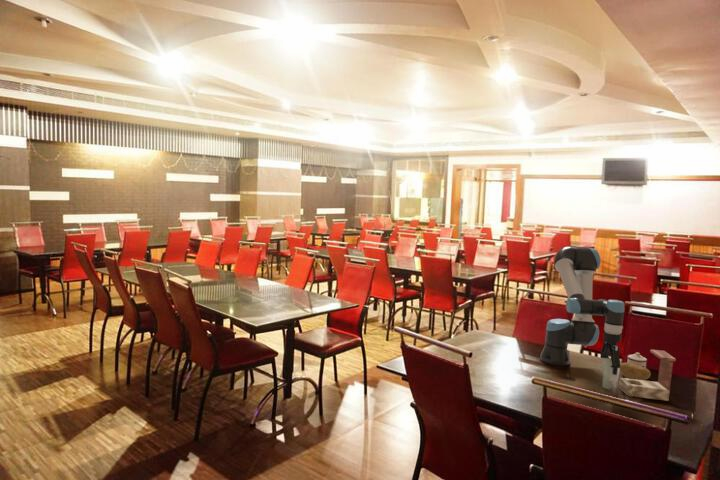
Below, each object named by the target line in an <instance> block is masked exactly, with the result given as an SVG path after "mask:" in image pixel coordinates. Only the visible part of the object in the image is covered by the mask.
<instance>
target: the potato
mask: <svg viewBox="0 0 720 480" xmlns="http://www.w3.org/2000/svg"><path fill="white" fill-rule="evenodd" d="M619 370H620V373H621V375H623V376H624V378H628V379H637V380H645V381H647V380H648V379H650V377H651V375H652V374H651V373H652V372H651V371H650V370H649V369H648V368H647V367H646V368H644V367H640V366H638V365H634V364H630V363H627V362H622V363H620V368H619Z"/></svg>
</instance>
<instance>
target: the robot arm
mask: <svg viewBox="0 0 720 480" xmlns="http://www.w3.org/2000/svg"><path fill="white" fill-rule="evenodd" d="M553 265H554V268H555V270H556V271H558V274H559V277H560V280H561V281H562V285H563V288H564V290H565V293H566V295H567V299H566V301H565V308H566V311H567V312H568V313H569V314H574V317H573V318H571V321H570V320H569V319H563V318H553V319H549V320H548V321H547V323H546V327H545V339H544V341H545V342H544V346H543V349H542V351H541V353H540V357H539V359H540V361H542V362H544V363H546V364H549V365H554V366H562V367H563V366H568V365H570V355H569V351H568V346H569V345H576V346H577V345H578V346H580V345H581V346H594V345H595V344H597V342H598V339H599V335H600V329H599V326H598V324H596V323H595V322H596V321H595V320H594V319H593V316H602V317H603V316H604V317H605V320H604V327H603V331H604V332H603V344H602V348H601V351H600V357H601V363H600V371H601V372H604V367H605V358H611V362H612V365H611V373H610V381H612V382H617V380H618V379H617V378H618V371H619V370H618V369H620V365H621V360H620V359H621V356H620V346H619V345H618V343H621V342H622V332H623V329H624V326H623V322H624V316H625V302H624V301H622V300H618V299H608V300H607V299H602V298H600V299H593V284H594V283H593V276H594V274H596V272H597V270H598V269H600V267H601V257H600V253H599V252H598V250H597V249H596V248H592V247H581V246H565V247H561V249H559V250H558V251H557V252H556V253H555V256H554V258H553ZM609 355H610V356H609Z"/></svg>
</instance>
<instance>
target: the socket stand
mask: <svg viewBox="0 0 720 480" xmlns="http://www.w3.org/2000/svg"><path fill="white" fill-rule="evenodd" d="M649 352H650V353H651V354H652V355H654V356H655V357H656V358H658V359H659V367H658V368H659V369H658V376H657V381H651V380H637V379H628V378H626V377H619V382H618V388H619V390H620V389H621V390H620V391H621V392H622V391H623V392H624V393H625V394H626V395H628V396H627V397H633V396H635V397H634V398H644V399H650V400H660V401H665V402H667V401H668V402H669V399H670V398H669V397H670V392H671V382H672V374H673V367H674V362H676V361H677V360H676V358H675V357H674V356H672V355H671V354H670V353H668V352H667V351H665V350H659V349H650V350H649ZM623 392H622V393H623ZM624 393H623V394H624ZM625 394H624V395H625ZM626 395H625V396H626Z"/></svg>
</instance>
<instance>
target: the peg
mask: <svg viewBox="0 0 720 480" xmlns="http://www.w3.org/2000/svg"><path fill="white" fill-rule="evenodd" d="M611 365H612V362H611V357H608V358H605V367H604V371H603V376H602V377H603V378H602V388H603V389H607V390H611V389H612V383H613V381H610V373H611Z"/></svg>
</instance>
